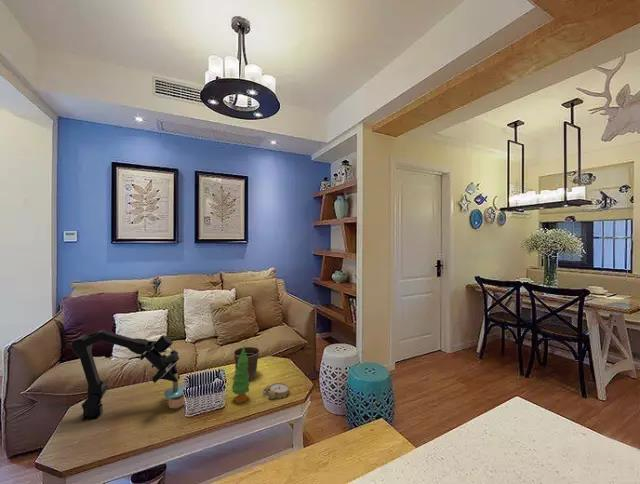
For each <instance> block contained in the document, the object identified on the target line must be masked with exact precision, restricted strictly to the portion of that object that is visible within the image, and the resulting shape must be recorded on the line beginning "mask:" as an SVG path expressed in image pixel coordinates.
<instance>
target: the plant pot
mask: <svg viewBox="0 0 640 484" xmlns="http://www.w3.org/2000/svg"><path fill="white" fill-rule="evenodd" d="M243 347H245V352H246V355H247V358H248V361H247V362H248V368H247V369H248V381H252V380H255V379H256V377H257V369H258V361H259V356H260V353H261V351H260V350H261V349H259V348H258V347H255V346H242V347H240V348H236V349H234V351H233V353H232V354H233V357H234V358H233V359H234V363H235V364H234V365H235V369H236V368H237V366H236V365H237V363H238V359H239V357H240V355H241V352H242V349H243Z"/></svg>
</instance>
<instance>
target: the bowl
mask: <svg viewBox="0 0 640 484" xmlns="http://www.w3.org/2000/svg"><path fill="white" fill-rule="evenodd" d="M183 405H185V401H184V395H182V396H180V397H177V398H168V406H169V408H170V409H174V410H175V409H179V408H182V406H183Z"/></svg>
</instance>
